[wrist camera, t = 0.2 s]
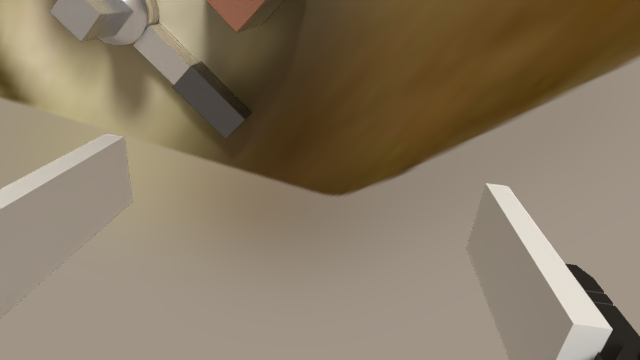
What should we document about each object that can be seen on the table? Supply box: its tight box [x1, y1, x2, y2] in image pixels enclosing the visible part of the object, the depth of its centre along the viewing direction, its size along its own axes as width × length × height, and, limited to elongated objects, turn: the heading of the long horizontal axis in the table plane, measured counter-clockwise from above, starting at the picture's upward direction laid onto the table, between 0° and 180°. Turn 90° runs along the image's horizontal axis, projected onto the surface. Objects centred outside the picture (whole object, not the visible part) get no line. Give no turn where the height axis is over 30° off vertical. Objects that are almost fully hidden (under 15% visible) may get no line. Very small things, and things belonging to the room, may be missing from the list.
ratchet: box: [50, 0, 252, 139], centre depth 37 cm, size 18×6×8 cm, turn 43°
